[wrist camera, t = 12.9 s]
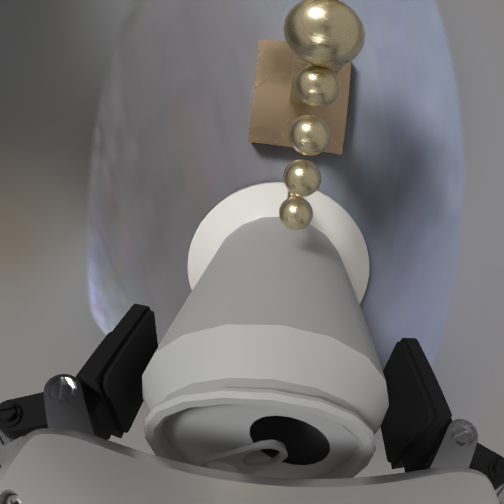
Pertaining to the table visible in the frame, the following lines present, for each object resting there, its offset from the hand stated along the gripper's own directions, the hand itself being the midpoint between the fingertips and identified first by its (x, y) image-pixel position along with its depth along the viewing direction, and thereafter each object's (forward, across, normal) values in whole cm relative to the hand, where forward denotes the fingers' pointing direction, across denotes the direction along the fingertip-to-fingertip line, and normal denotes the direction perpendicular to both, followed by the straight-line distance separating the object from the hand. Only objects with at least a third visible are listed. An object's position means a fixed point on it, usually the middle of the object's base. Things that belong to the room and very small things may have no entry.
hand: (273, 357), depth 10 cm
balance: (+9, 0, -11) cm, 14 cm away
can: (+7, 0, 0) cm, 8 cm away
